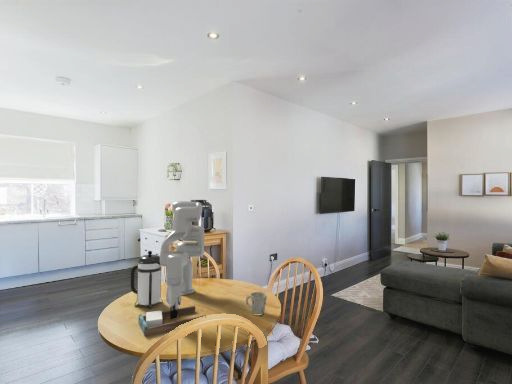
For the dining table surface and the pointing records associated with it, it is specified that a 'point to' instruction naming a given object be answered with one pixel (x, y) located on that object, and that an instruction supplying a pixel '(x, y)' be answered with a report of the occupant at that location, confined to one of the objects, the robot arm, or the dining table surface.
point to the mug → (257, 302)
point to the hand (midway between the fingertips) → (173, 318)
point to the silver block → (153, 318)
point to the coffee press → (147, 280)
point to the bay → (167, 326)
